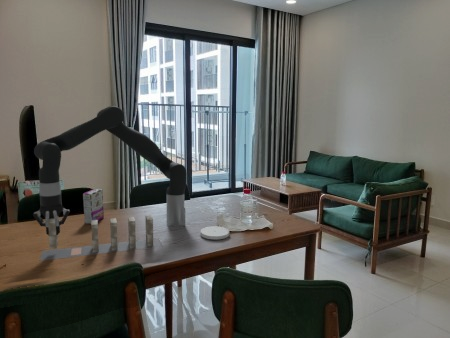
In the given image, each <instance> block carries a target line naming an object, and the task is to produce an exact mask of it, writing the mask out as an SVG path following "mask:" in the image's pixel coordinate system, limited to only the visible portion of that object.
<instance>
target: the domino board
mask: <svg viewBox="0 0 450 338" xmlns="http://www.w3.org/2000/svg"><path fill="white" fill-rule="evenodd" d="M117 244H118V250H112V249H111V242H110V243H102V244H101V243H99V252H93V250H92V245H85V246H76V247H74V246H73V247H66V248H56V249H48V250H47V249H46V250H42V252H41V255H40V258H39V262H41V261H42V262H43V261H51V260H58V259H65V258H66V259H68V258H75V257H83V256H93V255H101V254H108V253H109V254H110V253H116V252H126V251H127V252H128V251H134V250H142V249H143V250H144V249H151V248H158V247H159V248H160V247H163V246H164V245H163V244H162V242H161V239H160V238H159V237H157V238H153V246H148V245H147V243H146V239H139V240H136V248H130V246H129V240H128V241H120V242H118V241H117Z"/></svg>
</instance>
